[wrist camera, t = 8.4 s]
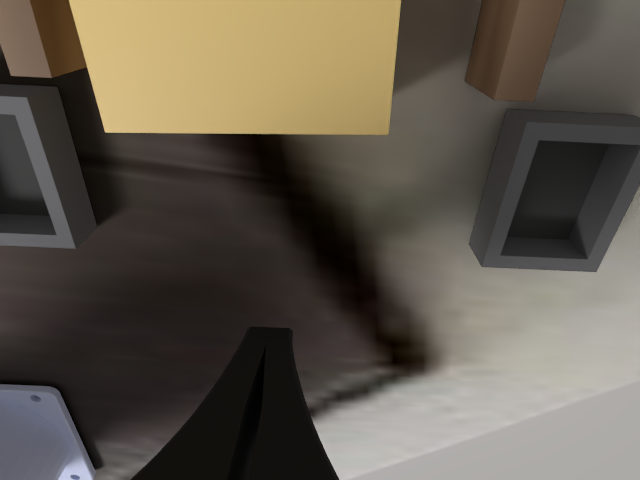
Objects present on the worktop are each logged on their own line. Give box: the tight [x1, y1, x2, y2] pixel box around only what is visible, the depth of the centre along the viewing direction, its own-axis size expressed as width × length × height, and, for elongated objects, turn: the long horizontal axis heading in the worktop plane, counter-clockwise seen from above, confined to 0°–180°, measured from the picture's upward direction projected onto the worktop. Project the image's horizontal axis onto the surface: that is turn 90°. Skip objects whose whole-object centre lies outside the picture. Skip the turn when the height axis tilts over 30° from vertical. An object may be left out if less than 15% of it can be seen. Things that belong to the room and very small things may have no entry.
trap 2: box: [469, 109, 640, 272], centre depth 13 cm, size 4×5×2 cm
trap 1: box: [0, 84, 97, 249], centre depth 13 cm, size 4×5×2 cm
